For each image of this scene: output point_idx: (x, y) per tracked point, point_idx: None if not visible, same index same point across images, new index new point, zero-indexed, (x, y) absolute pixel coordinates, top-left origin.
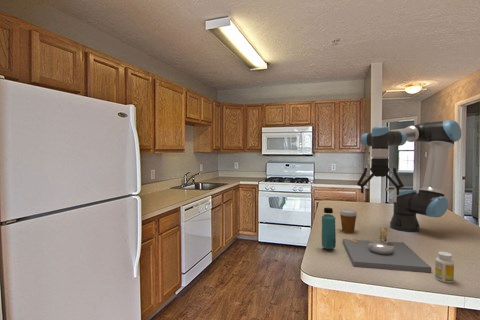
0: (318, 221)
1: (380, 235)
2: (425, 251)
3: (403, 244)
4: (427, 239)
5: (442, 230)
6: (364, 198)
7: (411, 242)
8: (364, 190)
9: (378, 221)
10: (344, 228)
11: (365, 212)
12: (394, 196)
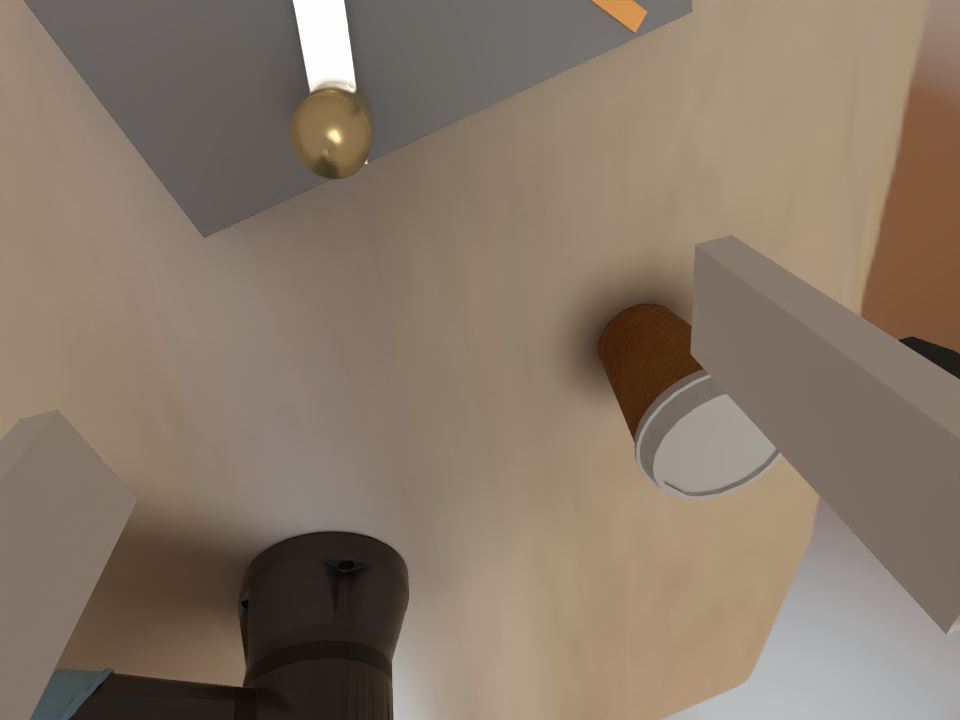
0: None
1: (355, 93)
2: (30, 201)
3: (181, 176)
4: (142, 472)
5: (144, 649)
6: (735, 255)
7: (201, 356)
8: (926, 386)
9: (481, 607)
10: (677, 317)
11: (563, 688)
12: (5, 541)
